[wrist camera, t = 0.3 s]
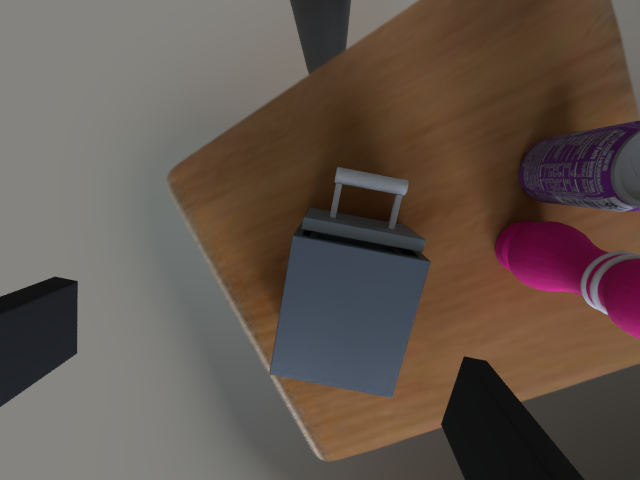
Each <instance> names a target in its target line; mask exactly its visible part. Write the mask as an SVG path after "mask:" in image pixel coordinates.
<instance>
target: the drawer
mask: <svg viewBox="0 0 640 480" xmlns="http://www.w3.org/2000/svg"><path fill="white" fill-rule="evenodd" d="M334 182H335V183H336V186H335V192H334V197H333V202H332V207H331V211H327V210H322V209H316V208H311V207H310V208H309V210H308V211H307V213H306V214H305V216H304V217H303V222H302V229H303V230H308V231H311V234H310V236H309V237H313V238H319V239H324V240H329V241H335V242H340V243H345V244H350V245H356V246H361V247H366V248H371V249H377V250H382V251H387V252H392V253H398V254H402V253H401V252H400V251H399V249H398V248H403V249H408V250H414V251H419V252H423V248H424V245H425V241H426V240H425V239H423V238H422V237H421V236H419V235H418V234H417V233H415V232H414V231H412V230H411V229H410V228H408V227H407V226H405V225H401V224H396V221H397V217H398V213H399V209H400V205H401V201H402V197H403V196H402V195H405V194H406V192H407V189H408V180H404V179H398V178H393V177H388V176H382V175H377V174H372V173H367V172H361V171H356V170H351V169H345V168H340V167H337V170H336V176H335V181H334ZM342 184H345V185H351V186H356V187H361V188H367V189H372V190H377V191H382V192H388V193H393V194H396V195H395V199H394V203H393V207H392V212H391V216H390V220H389V222H385V221H380V220H374V219H369V218H364V217H359V216H353V215H348V214H343V213H338V212H337V208H338V203H339V198H340V193H341V188H342ZM397 247H398V248H397Z"/></svg>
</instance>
